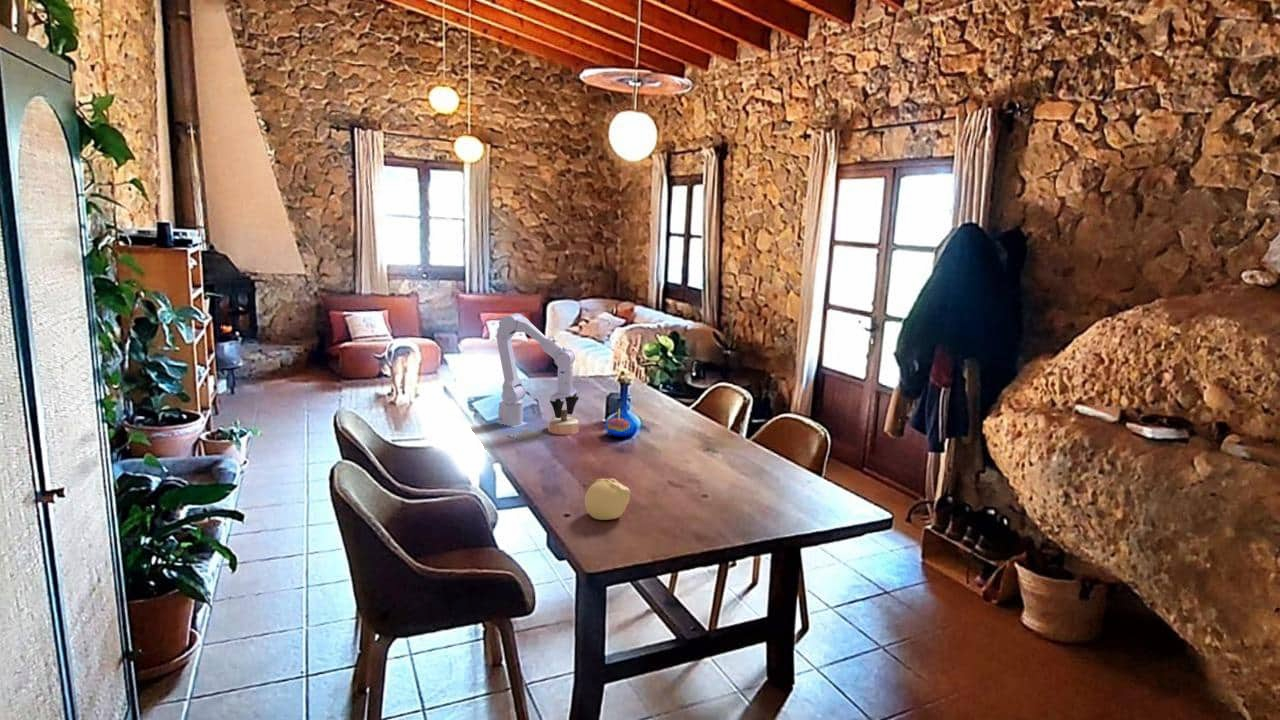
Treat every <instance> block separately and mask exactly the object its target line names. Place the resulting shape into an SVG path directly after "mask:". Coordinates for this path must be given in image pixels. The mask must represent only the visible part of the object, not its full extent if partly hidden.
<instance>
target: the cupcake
mask: <svg viewBox="0 0 1280 720" xmlns="http://www.w3.org/2000/svg"><path fill="white" fill-rule="evenodd" d="M617 410H618V411H617V412H618V413H617V414H618V415H617V417H616V418H617V419H615V418H612V419H610V420H609V422H608V423H607V427H608V428H609V429H610V430H611V429H613V430H616V431H619V432H620V431H621V432H623V431H625V430H627V429H628V430H629V429H630V428H631V427H630V425H631V424H630V421H629V420H626V419H625V418H623V417H621V408H620V407H618V409H617ZM624 419H625V420H624ZM628 430H627V431H628Z"/></svg>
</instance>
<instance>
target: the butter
mask: <svg viewBox="0 0 1280 720" xmlns="http://www.w3.org/2000/svg"><path fill="white" fill-rule="evenodd" d="M630 495H631V490H630V488H629V487H627V486H626V485H623V484H622V483H621V482H619V481H618V480H617V479H616V478H613V477H612V478H597V479H596V480H595V482H593V484H591V485H590V487H589V488H588V489H587V491H586V493H585V496H584V507H585V509H586V512H587V514H588V515H590V517H592V518H593V519H595V520H600V521H601V520H602V521H607V520H616V519H618V518H620V517H621V516H622V515H623V513H624V512H625V510H626V508H627V506H628V504H629V503H630V501H631V497H630Z"/></svg>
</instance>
